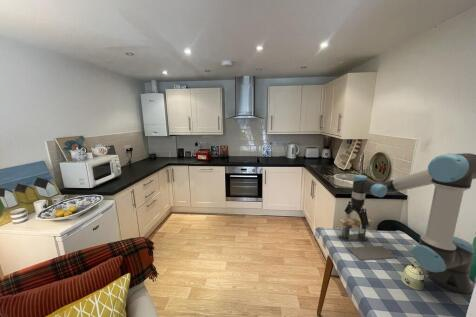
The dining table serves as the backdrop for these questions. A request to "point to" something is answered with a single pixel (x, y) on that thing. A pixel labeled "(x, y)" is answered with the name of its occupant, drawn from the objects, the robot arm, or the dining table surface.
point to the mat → (372, 253)
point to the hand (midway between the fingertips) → (354, 227)
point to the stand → (351, 237)
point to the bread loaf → (351, 222)
